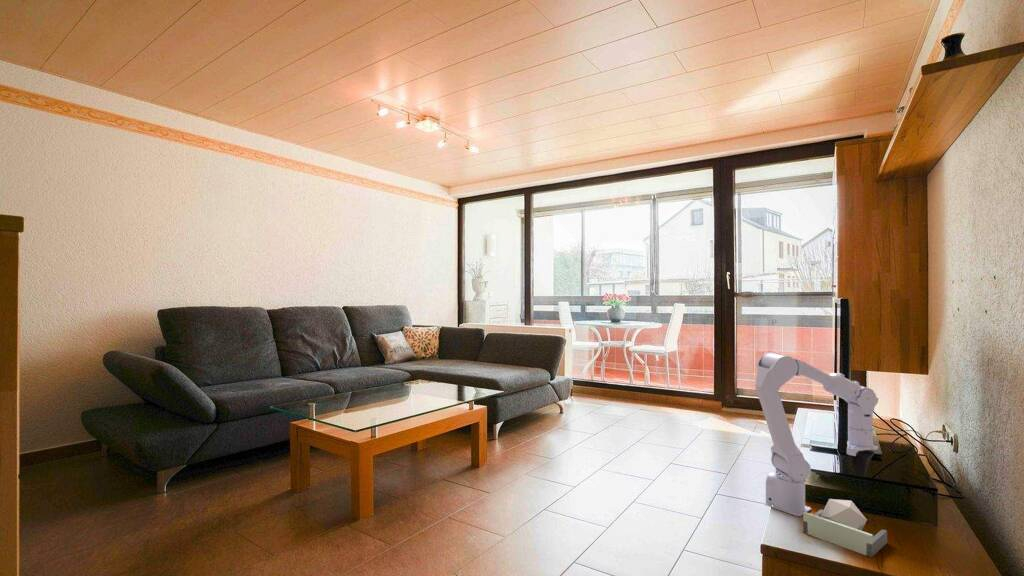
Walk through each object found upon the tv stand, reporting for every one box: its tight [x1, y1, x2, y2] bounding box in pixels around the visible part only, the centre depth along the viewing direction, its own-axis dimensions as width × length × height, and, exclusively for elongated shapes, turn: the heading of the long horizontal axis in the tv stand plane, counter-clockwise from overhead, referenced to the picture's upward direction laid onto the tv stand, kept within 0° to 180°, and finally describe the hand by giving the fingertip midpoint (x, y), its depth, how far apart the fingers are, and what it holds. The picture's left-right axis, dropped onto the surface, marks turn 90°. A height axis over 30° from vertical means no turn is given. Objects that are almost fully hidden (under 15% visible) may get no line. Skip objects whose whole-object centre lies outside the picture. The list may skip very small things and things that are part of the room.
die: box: [821, 498, 868, 531], centre depth 124 cm, size 8×9×10 cm
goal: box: [802, 509, 888, 558], centre depth 121 cm, size 15×11×5 cm
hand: (860, 475), depth 138 cm, fingers closed
